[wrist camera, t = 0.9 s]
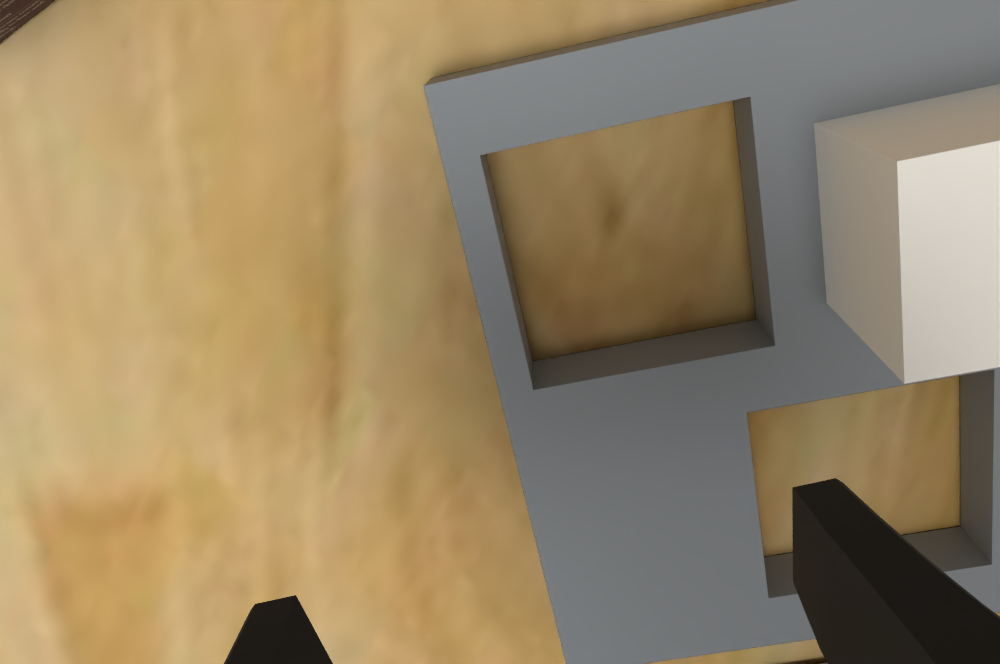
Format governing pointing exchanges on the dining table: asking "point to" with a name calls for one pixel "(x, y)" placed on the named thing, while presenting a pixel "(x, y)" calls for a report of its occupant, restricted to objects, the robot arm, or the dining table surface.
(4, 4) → the box
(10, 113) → the dining table surface
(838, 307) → the block
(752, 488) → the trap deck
